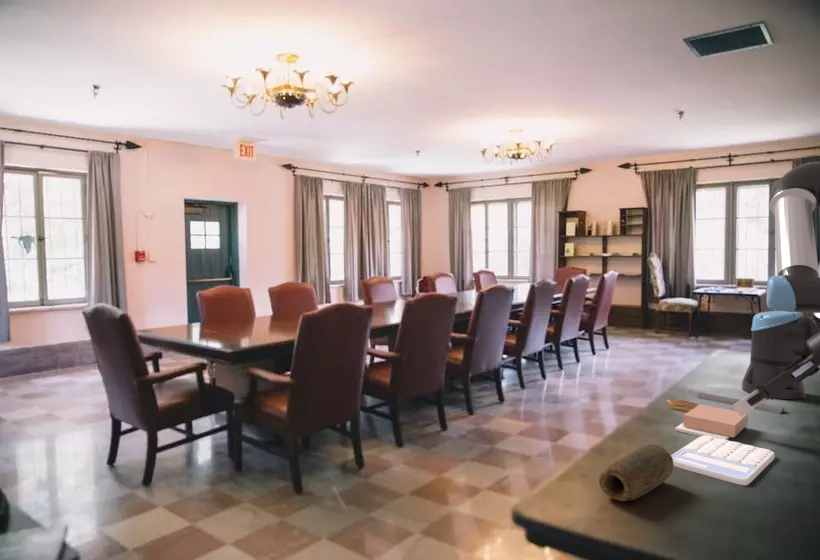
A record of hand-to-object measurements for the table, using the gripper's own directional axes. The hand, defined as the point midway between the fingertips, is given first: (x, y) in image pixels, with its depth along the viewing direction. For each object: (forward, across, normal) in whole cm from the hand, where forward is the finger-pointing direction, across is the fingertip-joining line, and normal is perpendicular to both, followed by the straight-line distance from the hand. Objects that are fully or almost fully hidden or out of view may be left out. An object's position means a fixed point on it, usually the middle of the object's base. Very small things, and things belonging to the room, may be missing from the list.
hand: (737, 410), depth 119 cm
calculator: (+3, -20, -5) cm, 21 cm away
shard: (+13, +13, +5) cm, 19 cm away
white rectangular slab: (+7, 0, 0) cm, 7 cm away
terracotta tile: (+1, 0, -3) cm, 3 cm away
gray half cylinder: (+8, +27, 0) cm, 28 cm away
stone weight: (+7, -45, 0) cm, 46 cm away
